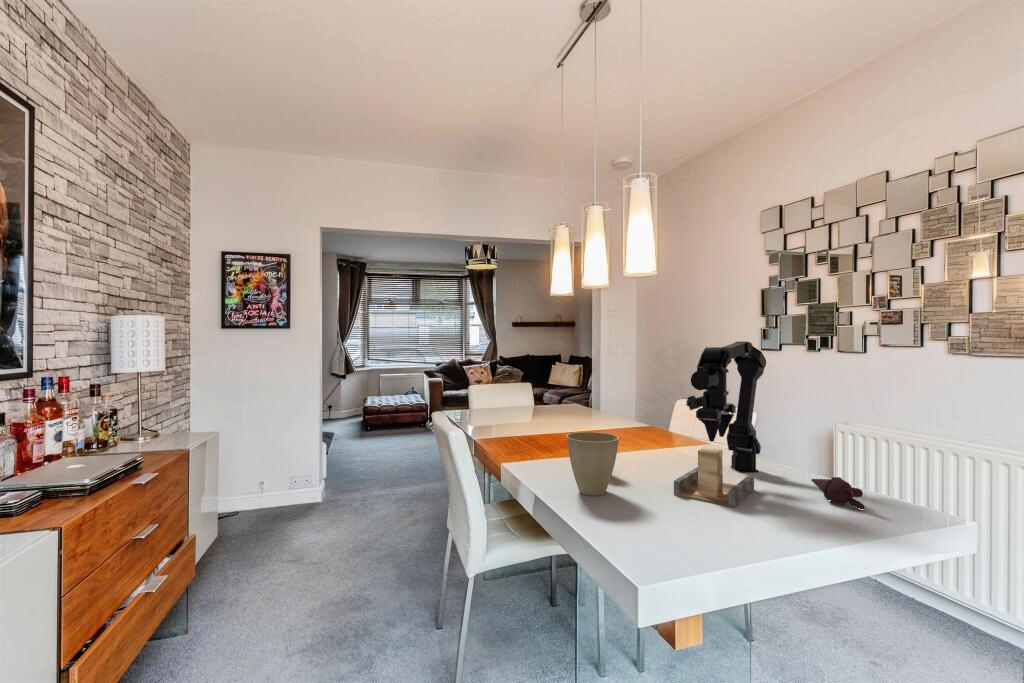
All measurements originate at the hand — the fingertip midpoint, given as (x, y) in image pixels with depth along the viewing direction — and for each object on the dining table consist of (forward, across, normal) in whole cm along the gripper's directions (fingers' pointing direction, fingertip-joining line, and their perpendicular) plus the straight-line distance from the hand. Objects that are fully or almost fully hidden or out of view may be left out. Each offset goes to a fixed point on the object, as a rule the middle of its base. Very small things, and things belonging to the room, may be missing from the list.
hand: (716, 438), depth 144 cm
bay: (+13, +11, +3) cm, 18 cm away
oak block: (+12, +15, +3) cm, 20 cm away
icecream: (+13, -1, +30) cm, 33 cm away
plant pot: (+13, +33, -24) cm, 43 cm away
